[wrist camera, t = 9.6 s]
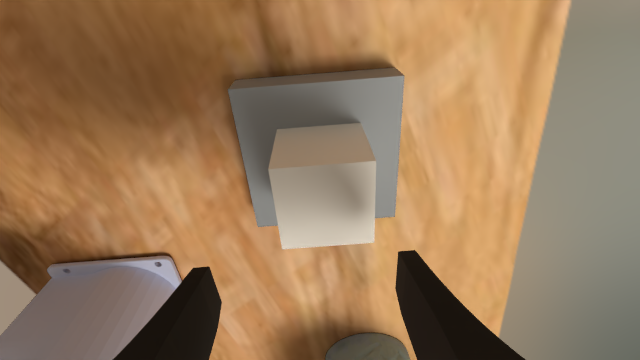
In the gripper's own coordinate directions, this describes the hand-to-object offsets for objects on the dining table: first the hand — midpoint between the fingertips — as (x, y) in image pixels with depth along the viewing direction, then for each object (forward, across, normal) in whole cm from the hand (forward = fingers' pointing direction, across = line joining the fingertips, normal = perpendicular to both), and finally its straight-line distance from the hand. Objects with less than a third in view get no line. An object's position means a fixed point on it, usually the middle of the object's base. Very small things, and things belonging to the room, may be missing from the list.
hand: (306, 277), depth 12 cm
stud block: (+10, -1, -1) cm, 10 cm away
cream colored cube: (+8, -1, -1) cm, 8 cm away
